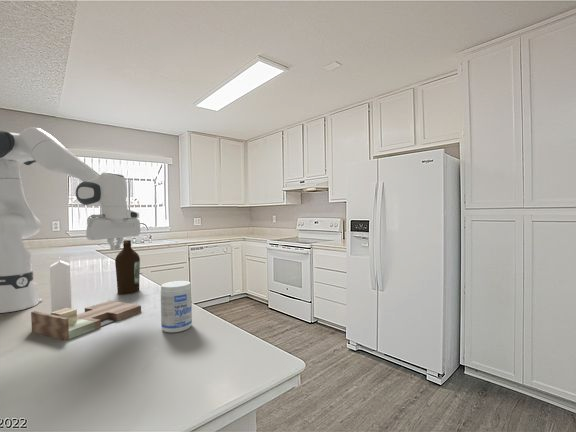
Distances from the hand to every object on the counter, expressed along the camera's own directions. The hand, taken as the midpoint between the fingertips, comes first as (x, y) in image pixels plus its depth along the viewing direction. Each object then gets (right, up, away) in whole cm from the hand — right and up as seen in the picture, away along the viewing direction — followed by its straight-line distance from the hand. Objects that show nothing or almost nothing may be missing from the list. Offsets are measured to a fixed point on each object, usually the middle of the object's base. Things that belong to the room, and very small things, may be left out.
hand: (115, 249), depth 116 cm
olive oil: (-11, -24, +29) cm, 39 cm away
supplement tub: (+30, -24, -17) cm, 42 cm away
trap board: (-3, -25, -9) cm, 26 cm away
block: (-7, -22, -18) cm, 29 cm away
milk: (-20, -25, -2) cm, 32 cm away
